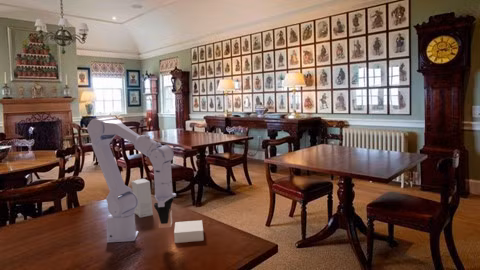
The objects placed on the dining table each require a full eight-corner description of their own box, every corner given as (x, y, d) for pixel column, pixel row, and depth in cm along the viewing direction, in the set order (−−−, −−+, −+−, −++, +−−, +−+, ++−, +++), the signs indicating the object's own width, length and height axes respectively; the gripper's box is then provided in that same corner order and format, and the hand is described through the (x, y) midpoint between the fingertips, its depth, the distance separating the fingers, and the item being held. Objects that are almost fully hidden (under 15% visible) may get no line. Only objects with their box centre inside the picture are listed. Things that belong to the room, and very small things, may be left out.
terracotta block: (158, 227, 114) (158, 213, 113) (160, 223, 118) (159, 209, 117) (170, 227, 114) (170, 212, 113) (172, 222, 118) (171, 208, 117)
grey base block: (174, 243, 118) (174, 232, 117) (175, 232, 127) (175, 222, 127) (203, 241, 119) (203, 230, 119) (202, 230, 129) (201, 220, 128)
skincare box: (153, 215, 145) (151, 181, 143) (139, 218, 142) (137, 183, 140) (146, 210, 152) (144, 177, 150) (133, 212, 149) (131, 179, 147)
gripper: (172, 187, 107) (174, 228, 109) (177, 176, 121) (179, 212, 123) (150, 188, 106) (152, 229, 108) (157, 177, 121) (159, 213, 122)
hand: (165, 220), depth 116 cm, fingers closed on terracotta block, 4 cm apart
